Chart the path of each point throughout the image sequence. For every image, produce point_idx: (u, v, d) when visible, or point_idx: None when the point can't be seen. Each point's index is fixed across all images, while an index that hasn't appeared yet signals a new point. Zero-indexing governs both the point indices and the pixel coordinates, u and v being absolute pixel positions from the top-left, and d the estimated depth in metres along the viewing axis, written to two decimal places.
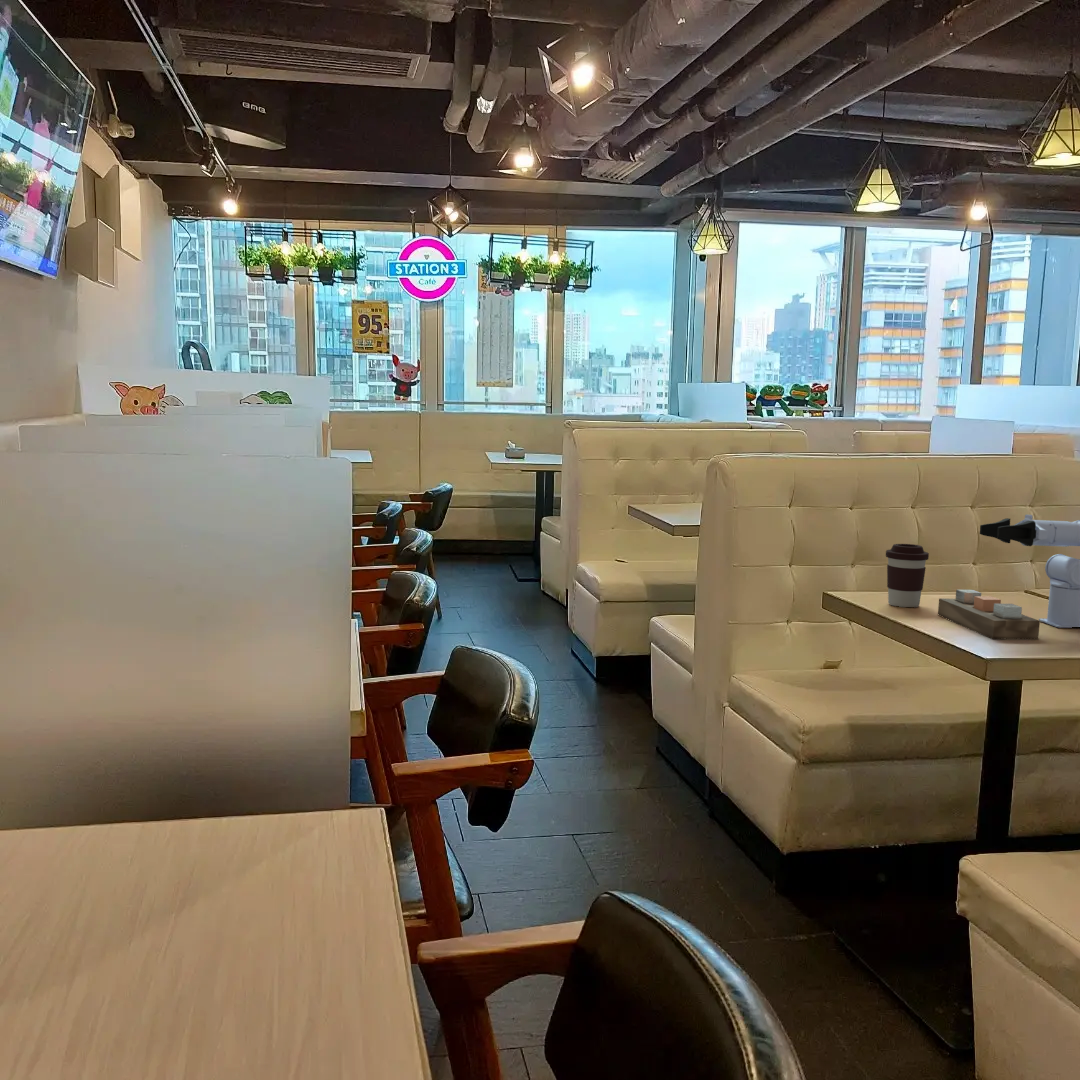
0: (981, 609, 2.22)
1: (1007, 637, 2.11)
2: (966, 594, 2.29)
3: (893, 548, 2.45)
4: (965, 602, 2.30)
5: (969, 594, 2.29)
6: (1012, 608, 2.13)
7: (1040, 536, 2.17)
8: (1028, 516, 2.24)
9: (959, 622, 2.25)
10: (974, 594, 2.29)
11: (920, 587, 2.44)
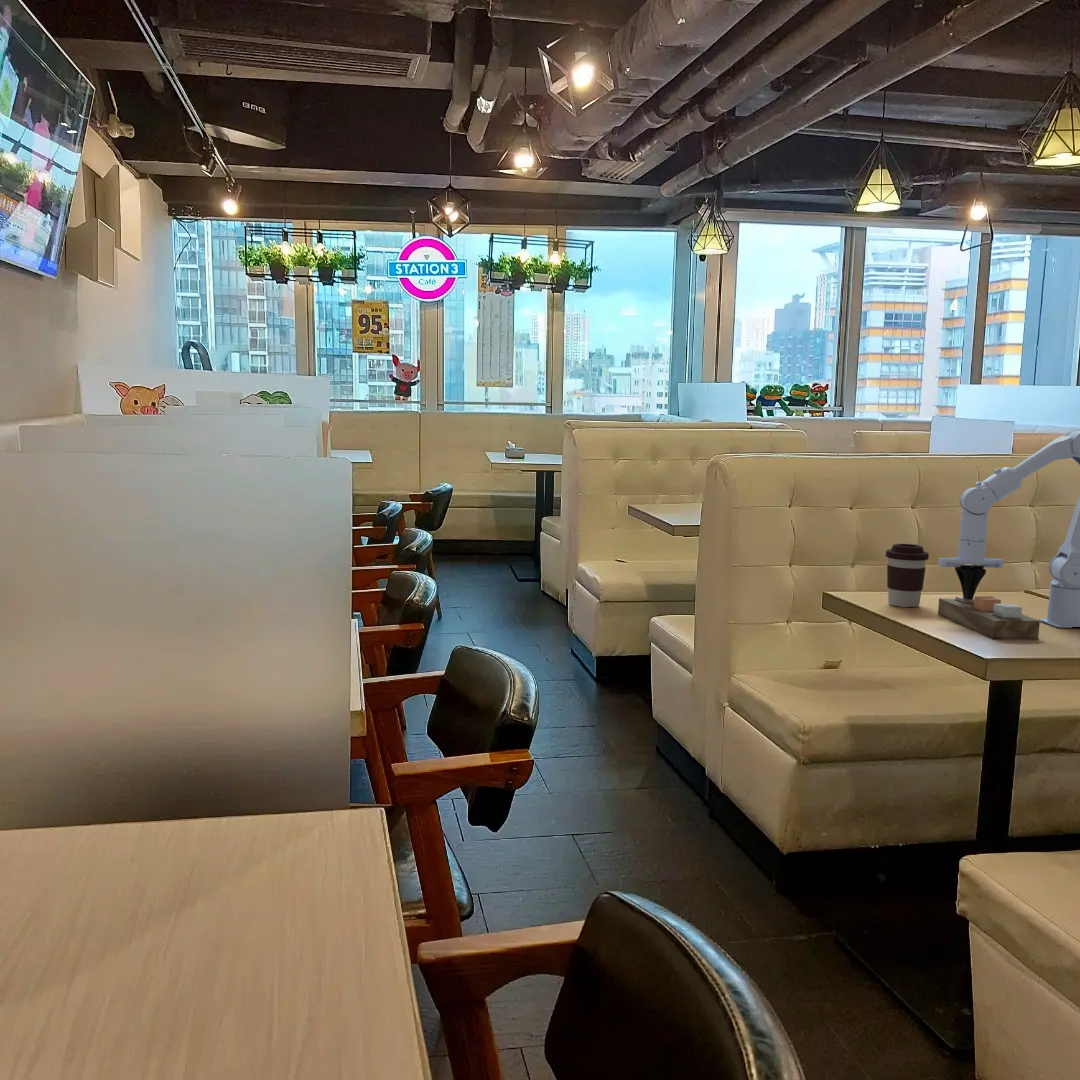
0: (981, 609, 2.22)
1: (1007, 637, 2.11)
2: (965, 601, 2.30)
3: (893, 548, 2.45)
4: None
5: (968, 601, 2.30)
6: (1012, 608, 2.13)
7: (941, 565, 2.30)
8: None
9: (959, 622, 2.25)
10: (973, 601, 2.30)
11: (920, 587, 2.44)
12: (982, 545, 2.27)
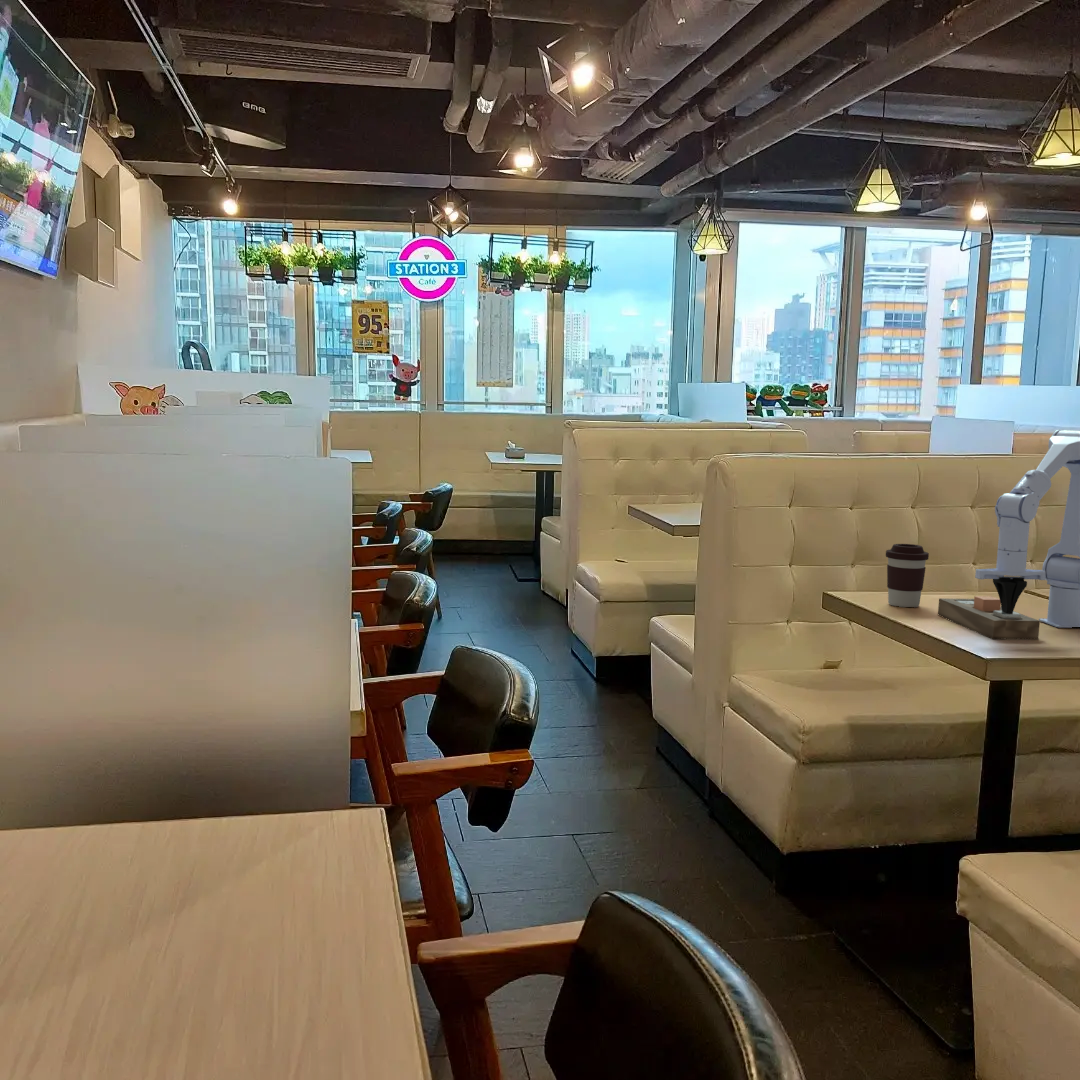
0: (981, 609, 2.22)
1: (1007, 637, 2.11)
2: None
3: (893, 548, 2.45)
4: None
5: None
6: (1011, 615, 2.13)
7: (978, 577, 2.13)
8: None
9: (959, 622, 2.25)
10: None
11: (920, 587, 2.44)
12: (1023, 555, 2.11)
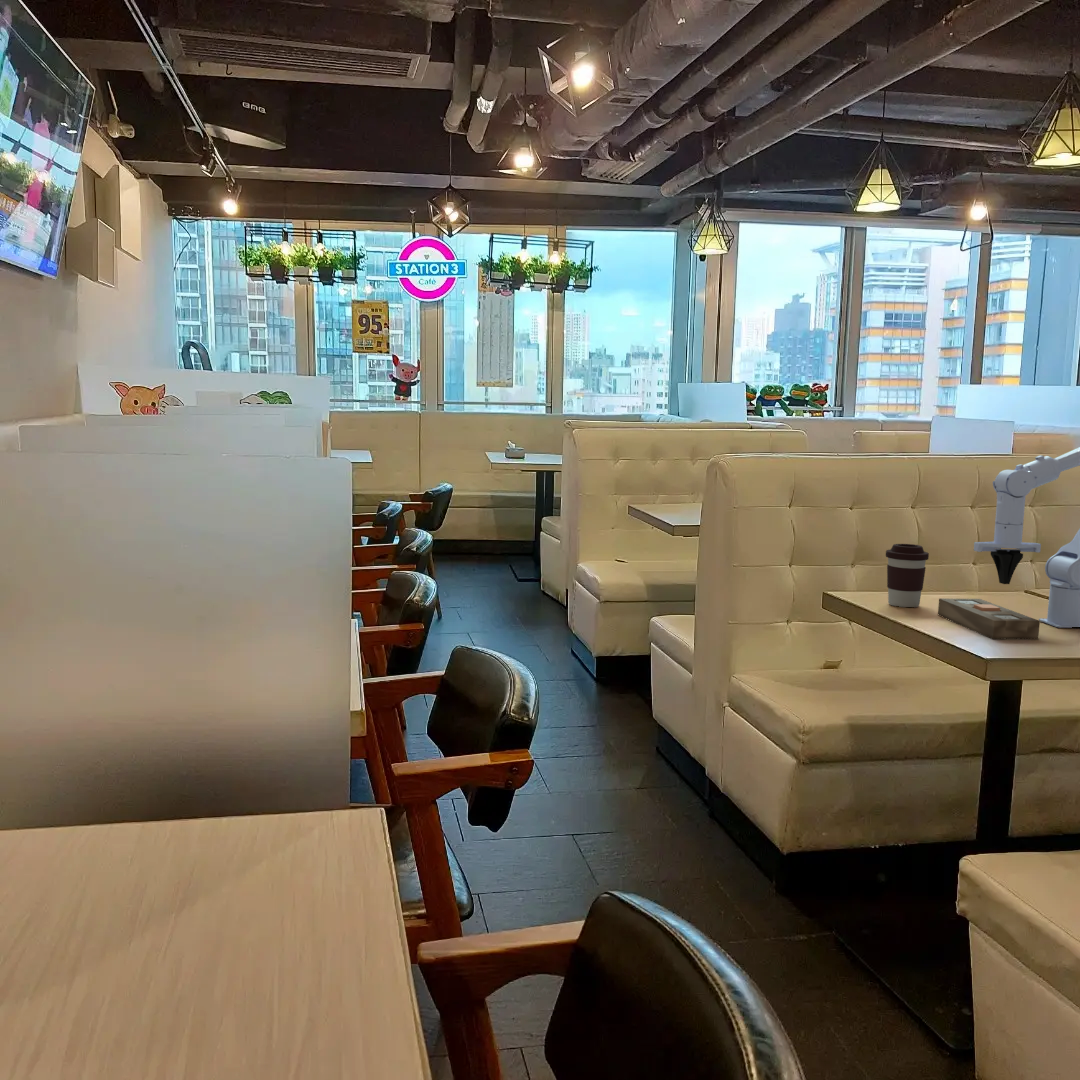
0: None
1: (1007, 637, 2.11)
2: None
3: (893, 548, 2.45)
4: None
5: None
6: None
7: (977, 549, 2.23)
8: None
9: (959, 622, 2.25)
10: None
11: (920, 587, 2.44)
12: (1019, 528, 2.21)
